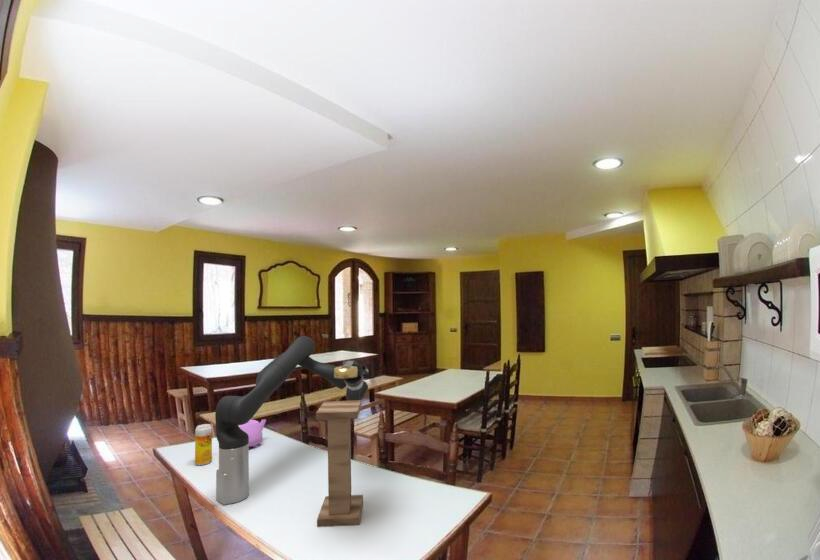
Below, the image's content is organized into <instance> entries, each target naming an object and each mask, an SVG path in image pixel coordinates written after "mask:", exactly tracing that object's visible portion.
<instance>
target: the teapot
mask: <svg viewBox="0 0 820 560" xmlns="http://www.w3.org/2000/svg"><path fill="white" fill-rule="evenodd" d="M266 422H267V419H265V418H264V419H261V421H258V420H255V419H252V418H251V419H250V420H249V421H248V422H247V423H246V424H243V425H238V426H239V427H240V429H241V430H243V431H244V432H246V433H247V434H248V436H249V447H250V448H252V447H255V448H257V447H256V446H258V444H260V443H261V442H262V440H263V438H264V437H263V429H264V428H265V424H266Z"/></svg>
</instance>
